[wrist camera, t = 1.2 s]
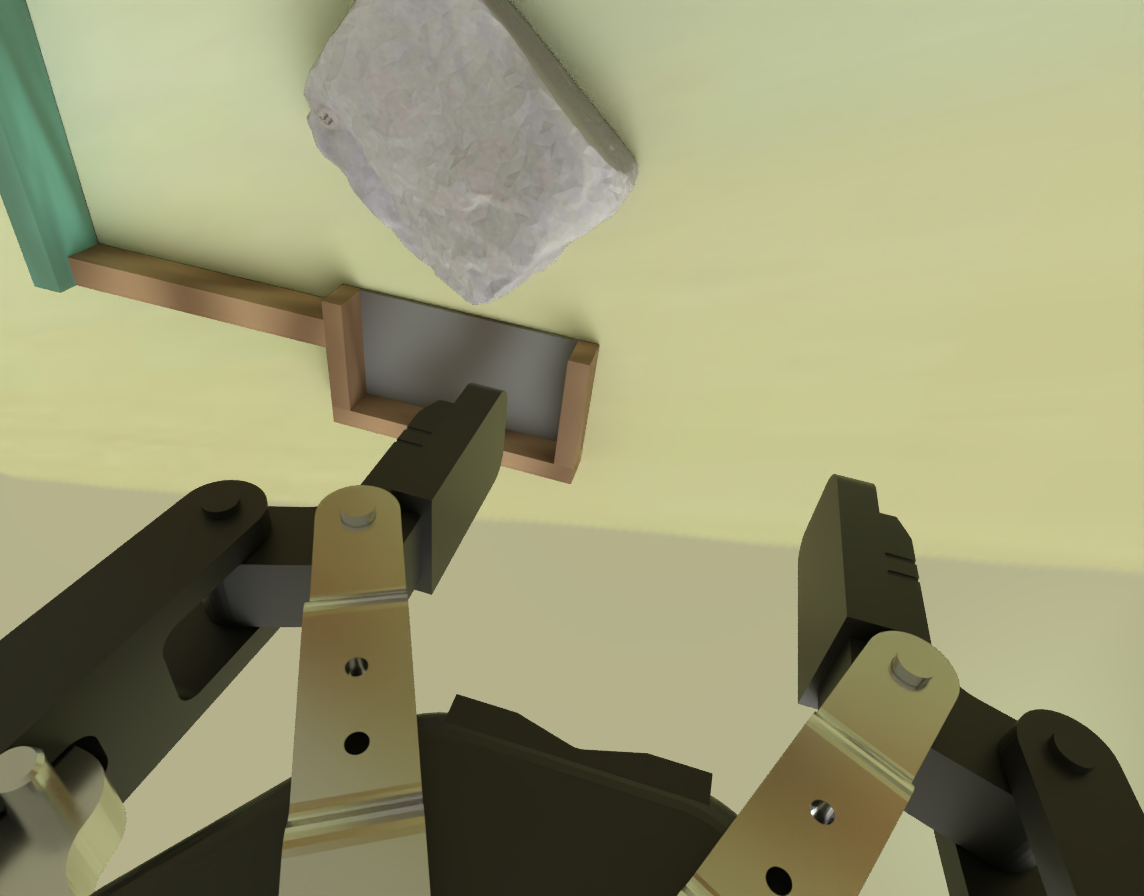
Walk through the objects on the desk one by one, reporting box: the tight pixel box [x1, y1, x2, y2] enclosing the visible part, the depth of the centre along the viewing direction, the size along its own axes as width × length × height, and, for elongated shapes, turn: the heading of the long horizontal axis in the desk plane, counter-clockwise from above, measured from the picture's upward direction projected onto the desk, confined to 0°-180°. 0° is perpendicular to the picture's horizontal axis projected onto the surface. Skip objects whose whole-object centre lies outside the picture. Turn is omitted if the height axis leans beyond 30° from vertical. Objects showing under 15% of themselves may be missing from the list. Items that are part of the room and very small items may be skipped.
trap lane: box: [0, 0, 599, 484], centre depth 29 cm, size 28×29×3 cm
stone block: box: [304, 0, 638, 305], centre depth 28 cm, size 12×5×10 cm
